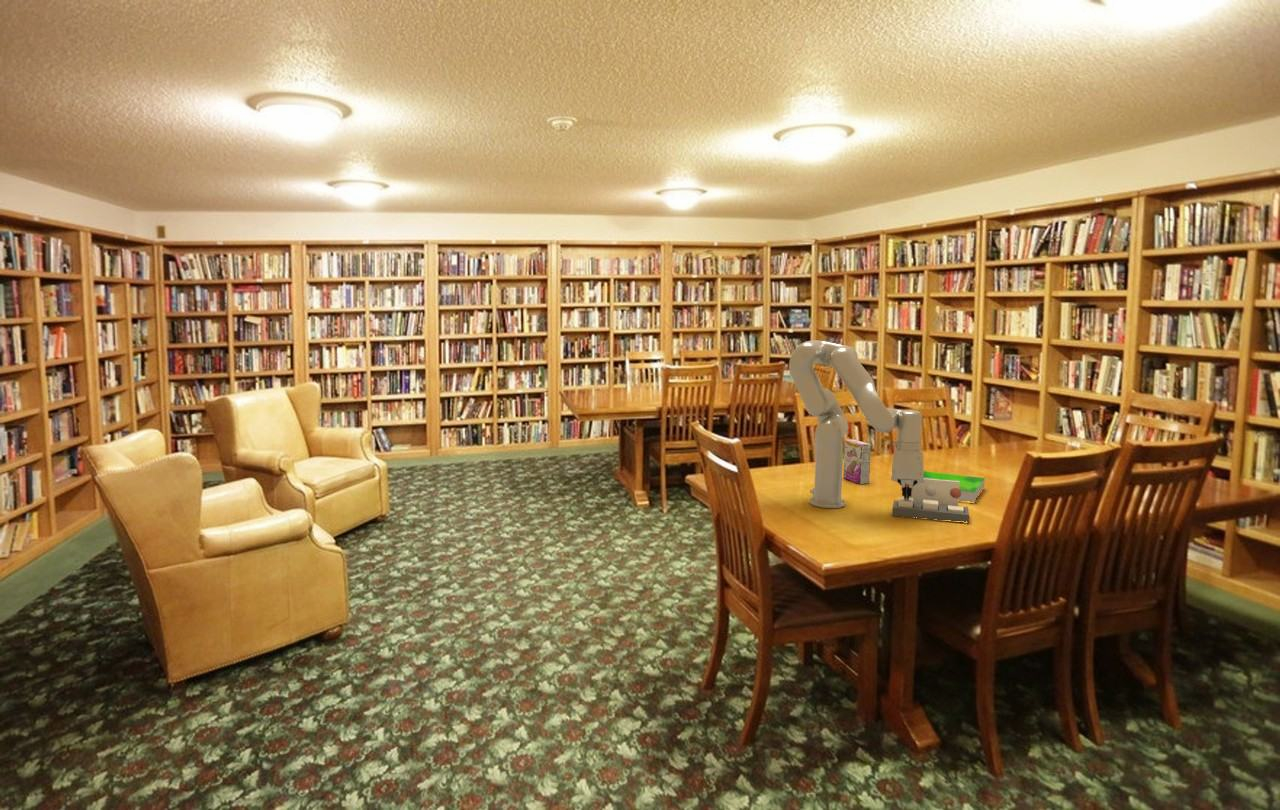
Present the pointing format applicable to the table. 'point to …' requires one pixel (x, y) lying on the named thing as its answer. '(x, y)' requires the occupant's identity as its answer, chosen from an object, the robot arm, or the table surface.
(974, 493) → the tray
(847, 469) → the candy bar box
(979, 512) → the table surface
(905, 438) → the robot arm
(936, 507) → the middle button
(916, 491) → the button panel
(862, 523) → the table surface
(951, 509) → the button
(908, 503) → the button
